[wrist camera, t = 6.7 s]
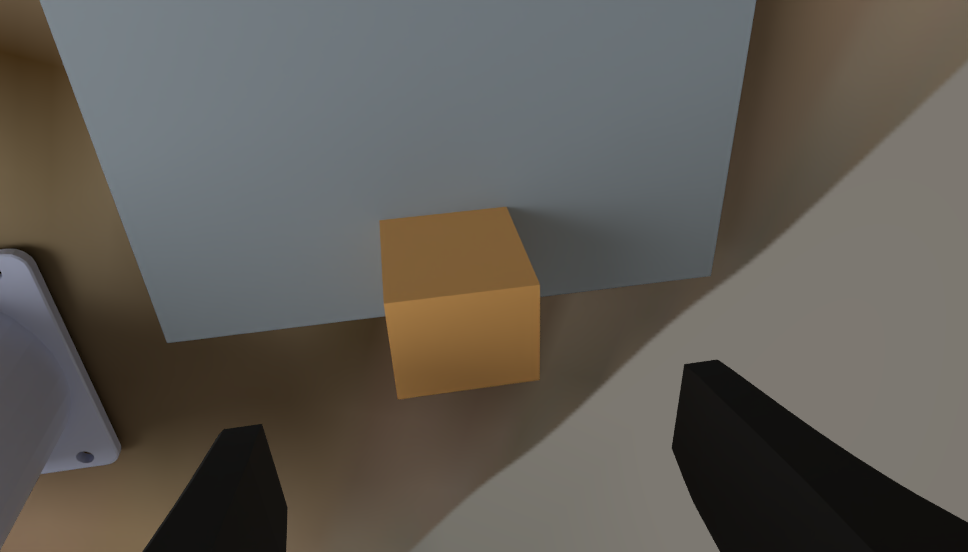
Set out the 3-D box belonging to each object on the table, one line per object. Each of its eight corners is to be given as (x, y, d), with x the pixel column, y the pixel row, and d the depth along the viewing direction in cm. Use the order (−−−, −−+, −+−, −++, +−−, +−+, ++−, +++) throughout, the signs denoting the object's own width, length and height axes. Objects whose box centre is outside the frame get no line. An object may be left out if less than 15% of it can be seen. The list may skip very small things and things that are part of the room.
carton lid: (172, 331, 17) (124, 448, 13) (-54, -293, 10) (-257, -371, 7) (702, 266, 18) (780, 357, 15) (792, -310, 12) (964, -381, 8)
